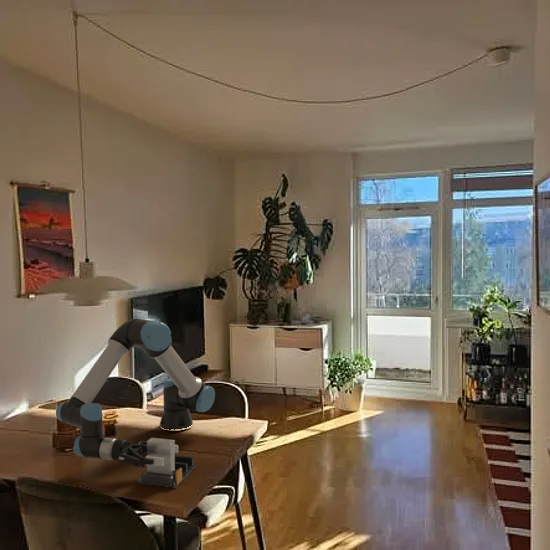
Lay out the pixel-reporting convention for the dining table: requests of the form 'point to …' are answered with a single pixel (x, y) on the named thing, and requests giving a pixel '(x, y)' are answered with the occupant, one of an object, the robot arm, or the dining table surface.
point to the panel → (162, 456)
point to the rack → (181, 472)
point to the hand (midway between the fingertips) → (170, 455)
